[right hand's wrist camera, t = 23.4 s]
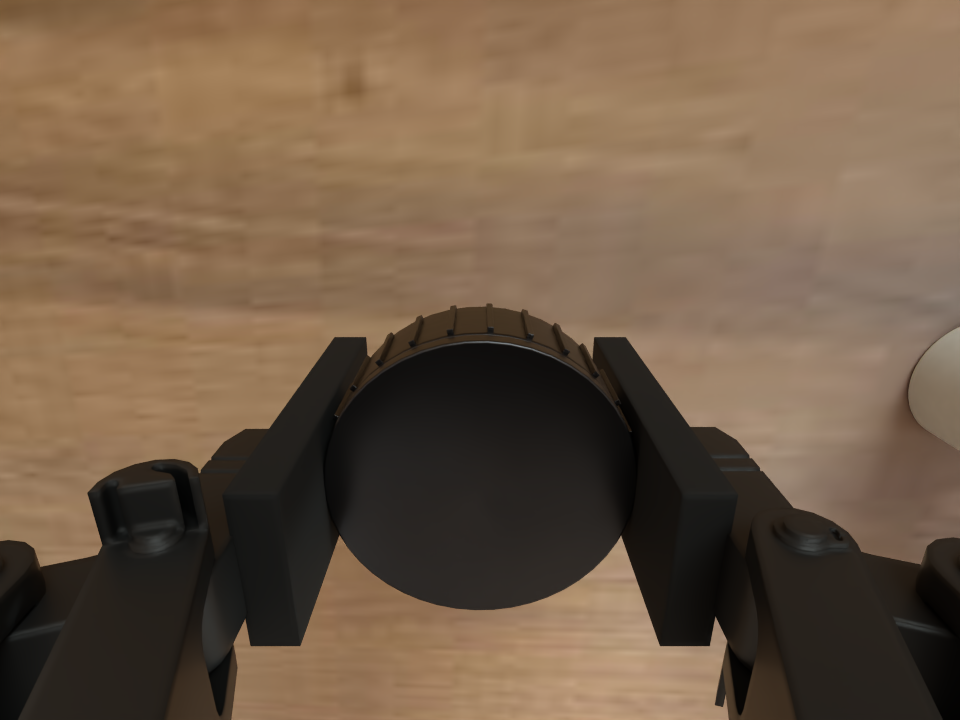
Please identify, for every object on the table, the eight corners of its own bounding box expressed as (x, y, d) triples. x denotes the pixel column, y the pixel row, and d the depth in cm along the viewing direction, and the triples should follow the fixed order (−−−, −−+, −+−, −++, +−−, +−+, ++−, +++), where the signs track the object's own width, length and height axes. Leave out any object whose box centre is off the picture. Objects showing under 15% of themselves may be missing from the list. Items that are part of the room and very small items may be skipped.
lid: (660, 349, 11) (696, 391, 9) (560, 570, 13) (574, 641, 11) (380, 264, 11) (359, 292, 9) (319, 508, 13) (291, 574, 11)
